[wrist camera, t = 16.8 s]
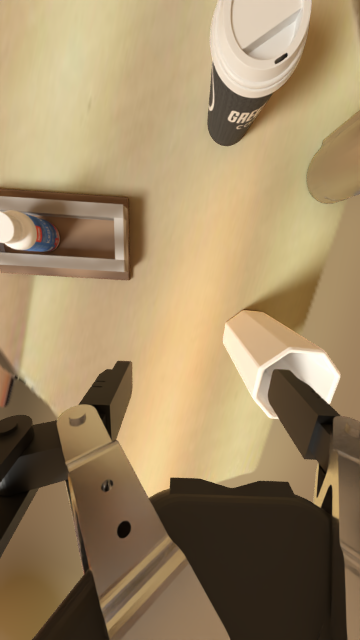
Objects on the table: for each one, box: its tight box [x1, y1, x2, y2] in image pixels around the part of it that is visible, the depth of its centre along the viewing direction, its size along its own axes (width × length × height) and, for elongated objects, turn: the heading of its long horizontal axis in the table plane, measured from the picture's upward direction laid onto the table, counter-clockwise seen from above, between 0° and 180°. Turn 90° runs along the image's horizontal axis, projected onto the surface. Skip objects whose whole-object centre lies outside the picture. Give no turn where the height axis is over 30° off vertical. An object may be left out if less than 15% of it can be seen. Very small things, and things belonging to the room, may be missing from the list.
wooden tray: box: [0, 189, 130, 280], centre depth 35 cm, size 14×24×4 cm, turn 87°
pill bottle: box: [0, 210, 60, 252], centre depth 31 cm, size 6×5×10 cm
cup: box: [223, 310, 341, 419], centre depth 34 cm, size 11×11×18 cm
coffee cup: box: [208, 0, 312, 146], centre depth 25 cm, size 10×10×15 cm
